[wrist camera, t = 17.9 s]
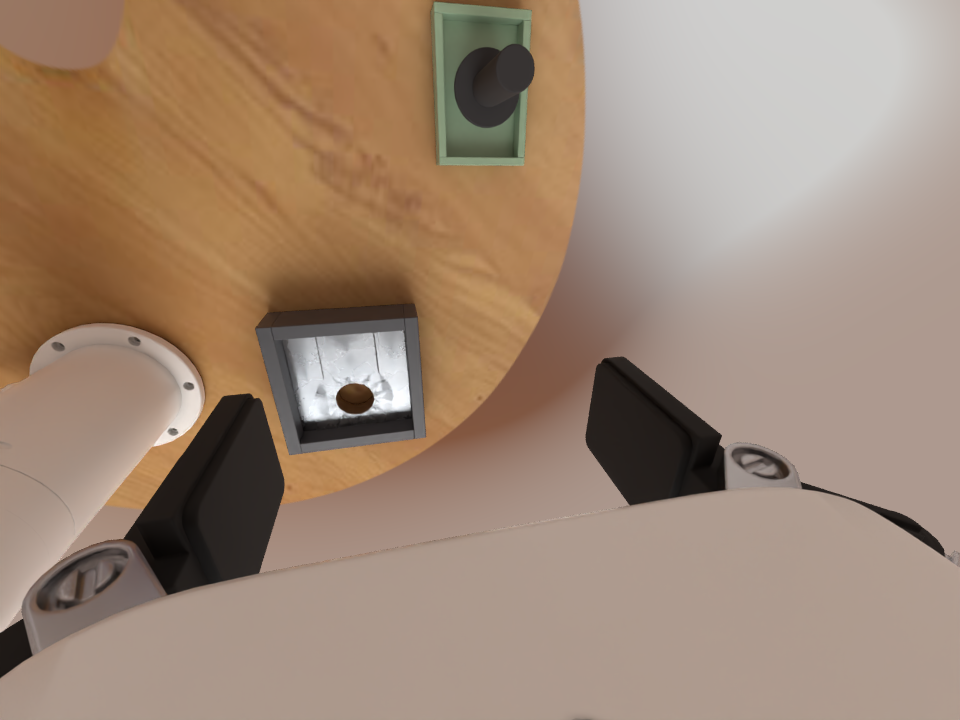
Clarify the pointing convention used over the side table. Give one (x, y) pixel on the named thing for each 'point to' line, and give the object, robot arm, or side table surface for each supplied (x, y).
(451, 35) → the soap tray
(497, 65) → the plug
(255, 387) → the side table surface
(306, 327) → the sink basin
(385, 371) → the plate
